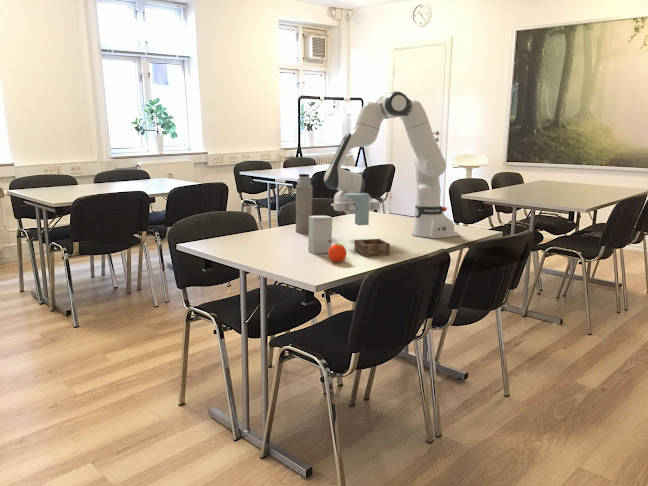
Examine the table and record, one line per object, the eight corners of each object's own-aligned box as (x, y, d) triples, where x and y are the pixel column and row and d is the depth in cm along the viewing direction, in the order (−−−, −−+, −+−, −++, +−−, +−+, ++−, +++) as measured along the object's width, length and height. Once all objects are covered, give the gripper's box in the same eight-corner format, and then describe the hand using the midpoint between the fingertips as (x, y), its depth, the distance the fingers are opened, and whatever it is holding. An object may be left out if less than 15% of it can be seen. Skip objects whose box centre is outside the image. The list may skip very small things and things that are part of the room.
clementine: (347, 259, 208) (347, 241, 207) (350, 264, 201) (350, 245, 200) (327, 260, 207) (327, 241, 206) (329, 264, 200) (329, 245, 199)
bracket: (364, 223, 231) (365, 192, 229) (368, 224, 227) (369, 194, 224) (343, 224, 229) (344, 193, 226) (347, 225, 225) (347, 194, 222)
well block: (379, 249, 226) (379, 238, 225) (389, 255, 216) (390, 244, 215) (354, 250, 223) (354, 240, 222) (364, 256, 213) (364, 245, 212)
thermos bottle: (313, 230, 266) (314, 173, 260) (310, 233, 258) (310, 175, 252) (298, 229, 268) (298, 173, 262) (294, 232, 260) (293, 174, 254)
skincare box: (313, 254, 216) (313, 217, 213) (307, 251, 222) (307, 215, 218) (332, 252, 219) (332, 216, 216) (326, 249, 225) (326, 214, 222)
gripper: (329, 197, 236) (339, 201, 223) (373, 195, 241) (385, 199, 229) (329, 211, 237) (339, 216, 224) (372, 209, 243) (384, 214, 230)
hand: (362, 208), depth 226 cm, fingers closed on bracket, 4 cm apart
